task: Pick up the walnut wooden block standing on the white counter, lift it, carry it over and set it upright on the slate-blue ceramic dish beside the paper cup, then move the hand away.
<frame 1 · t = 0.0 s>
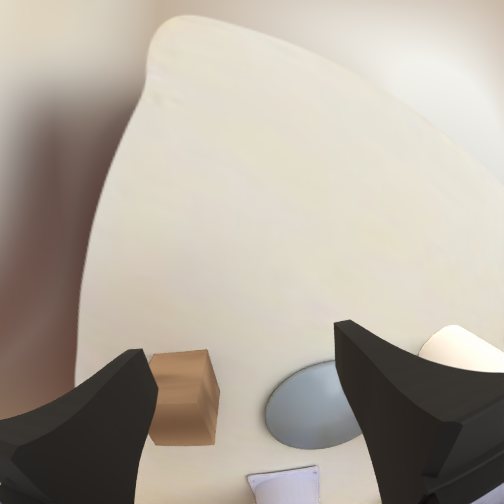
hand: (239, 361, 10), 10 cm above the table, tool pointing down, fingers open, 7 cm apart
dish: (326, 406, 24), on the table
block: (187, 373, 23), on the table
foam cup: (441, 353, 23), on the table
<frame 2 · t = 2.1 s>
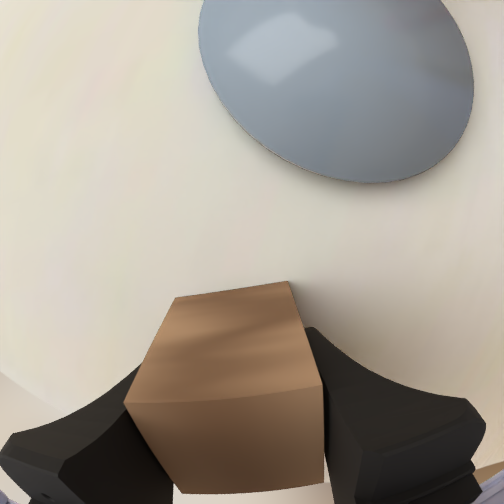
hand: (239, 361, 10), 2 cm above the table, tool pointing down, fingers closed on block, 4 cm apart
dish: (349, 44, 9), on the table
block: (240, 338, 12), on the table, touching gripper
when the fingers open (4 cm above the table, at t = 7.1 s): block drops 1 cm, resting on dish.
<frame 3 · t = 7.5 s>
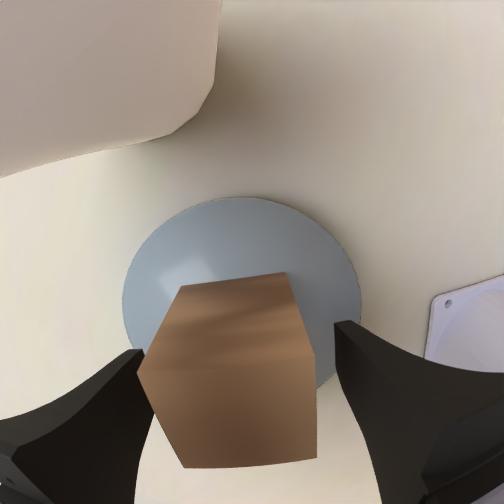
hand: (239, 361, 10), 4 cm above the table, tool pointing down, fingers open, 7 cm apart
dish: (241, 315, 14), on the table
block: (240, 325, 13), point 1 cm above the table, touching dish
foam cup: (146, 76, 11), on the table
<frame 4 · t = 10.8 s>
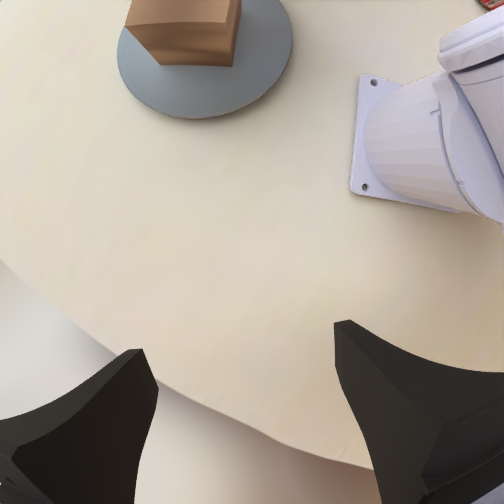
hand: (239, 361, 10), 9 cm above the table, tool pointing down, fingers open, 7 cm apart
dish: (203, 41, 15), on the table
block: (200, 34, 14), point 1 cm above the table, touching dish
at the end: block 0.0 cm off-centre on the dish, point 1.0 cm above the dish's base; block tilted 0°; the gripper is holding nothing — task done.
